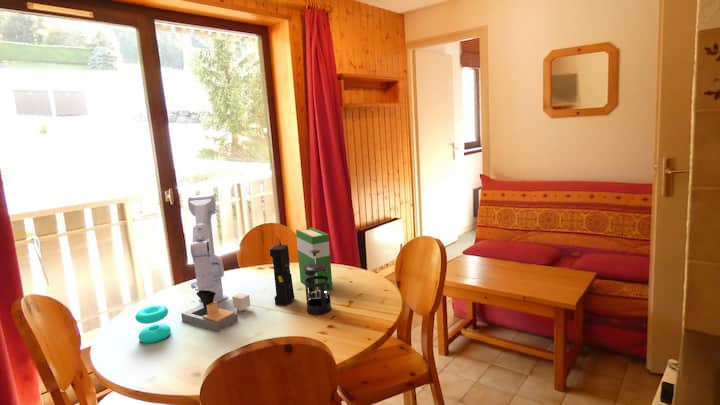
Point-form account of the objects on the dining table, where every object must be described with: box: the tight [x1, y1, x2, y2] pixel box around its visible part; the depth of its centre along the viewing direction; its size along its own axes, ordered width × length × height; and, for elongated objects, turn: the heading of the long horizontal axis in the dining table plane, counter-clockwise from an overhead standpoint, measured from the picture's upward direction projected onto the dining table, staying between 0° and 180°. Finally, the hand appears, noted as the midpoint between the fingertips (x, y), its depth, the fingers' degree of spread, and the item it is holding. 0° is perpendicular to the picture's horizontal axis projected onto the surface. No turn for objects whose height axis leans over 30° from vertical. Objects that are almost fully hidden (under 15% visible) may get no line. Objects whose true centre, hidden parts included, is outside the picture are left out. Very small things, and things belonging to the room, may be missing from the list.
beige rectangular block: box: [231, 292, 251, 313], centre depth 164 cm, size 5×4×6 cm
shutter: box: [203, 302, 235, 322], centre depth 153 cm, size 8×8×4 cm
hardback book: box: [295, 227, 333, 291], centre depth 184 cm, size 18×7×24 cm, turn 30°
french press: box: [304, 250, 333, 316], centre depth 159 cm, size 12×9×23 cm
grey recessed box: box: [180, 303, 239, 332], centre depth 156 cm, size 20×9×3 cm, turn 58°
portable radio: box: [269, 238, 296, 306], centre depth 168 cm, size 8×6×25 cm
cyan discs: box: [135, 304, 172, 344], centre depth 146 cm, size 10×10×10 cm
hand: (208, 309), depth 156 cm, fingers closed
